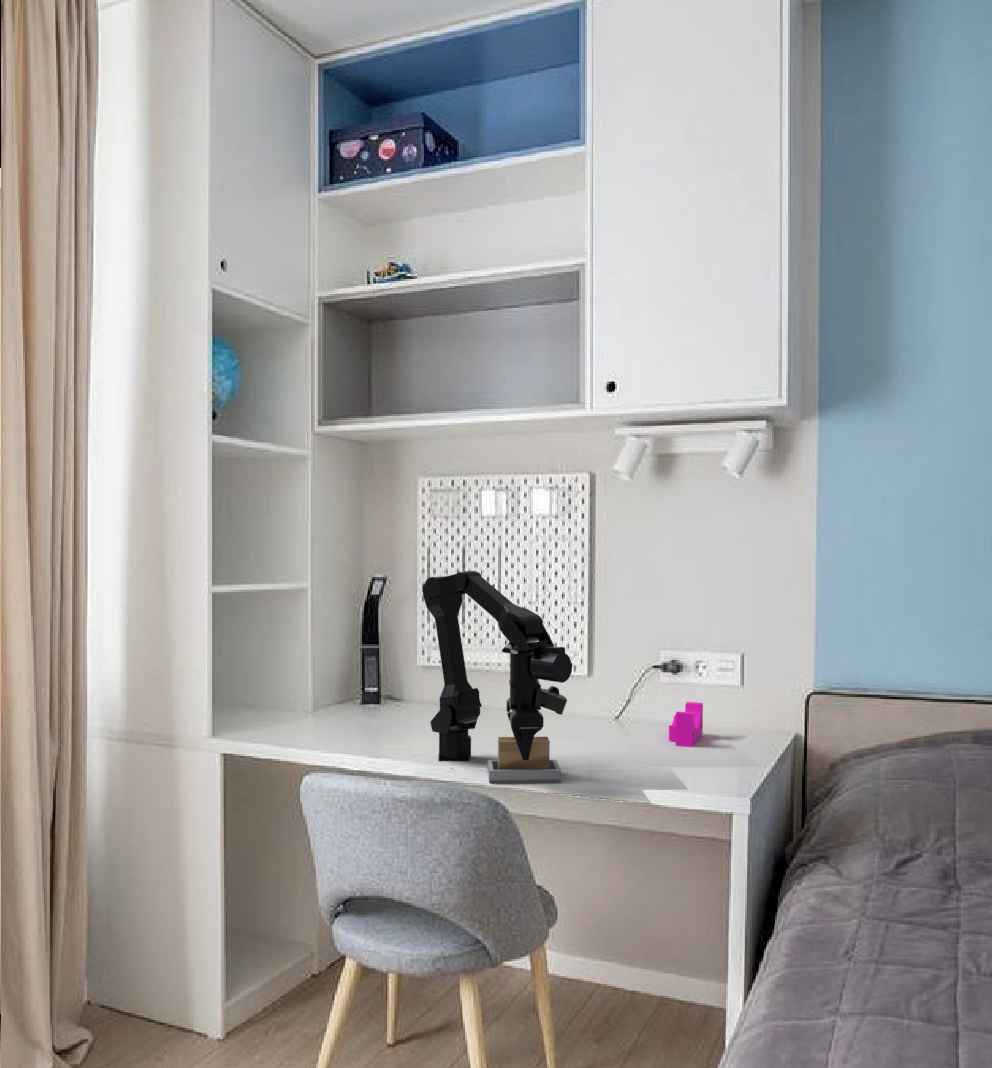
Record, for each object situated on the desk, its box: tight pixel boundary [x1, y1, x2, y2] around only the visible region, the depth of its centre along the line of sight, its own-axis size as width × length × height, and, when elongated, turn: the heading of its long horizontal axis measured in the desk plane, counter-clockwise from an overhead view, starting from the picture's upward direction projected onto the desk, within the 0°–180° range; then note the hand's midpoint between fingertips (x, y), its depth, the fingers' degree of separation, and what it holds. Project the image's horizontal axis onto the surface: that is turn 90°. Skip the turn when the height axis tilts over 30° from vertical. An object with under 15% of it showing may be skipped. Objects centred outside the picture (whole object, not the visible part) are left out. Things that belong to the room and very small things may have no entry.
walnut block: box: [497, 736, 551, 770], centre depth 197 cm, size 4×10×7 cm, turn 92°
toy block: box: [668, 701, 704, 748], centre depth 233 cm, size 15×6×8 cm, turn 159°
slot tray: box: [487, 759, 562, 784], centre depth 197 cm, size 14×9×2 cm, turn 93°
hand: (523, 754), depth 197 cm, fingers open, 9 cm apart
